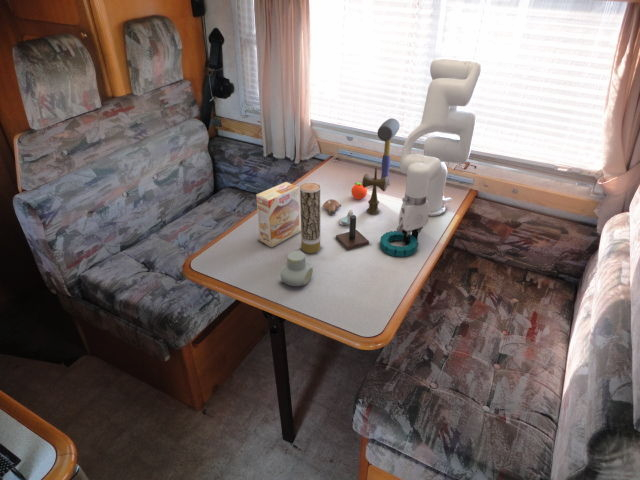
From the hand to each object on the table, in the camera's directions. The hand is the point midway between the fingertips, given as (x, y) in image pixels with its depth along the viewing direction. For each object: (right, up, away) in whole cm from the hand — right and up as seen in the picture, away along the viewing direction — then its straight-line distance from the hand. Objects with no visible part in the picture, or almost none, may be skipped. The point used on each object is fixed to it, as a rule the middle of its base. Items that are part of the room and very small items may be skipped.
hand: (410, 241), depth 165 cm
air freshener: (-41, -13, -18) cm, 47 cm away
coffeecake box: (-49, +2, +5) cm, 49 cm away
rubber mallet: (-3, +27, +44) cm, 52 cm away
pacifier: (-23, +7, +14) cm, 27 cm away
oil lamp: (-29, +13, +22) cm, 39 cm away
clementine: (-16, +19, +32) cm, 41 cm away
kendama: (-11, +12, +21) cm, 27 cm away
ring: (-5, -2, -2) cm, 5 cm away
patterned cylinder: (-37, -3, -2) cm, 37 cm away
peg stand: (-21, 0, +2) cm, 21 cm away
